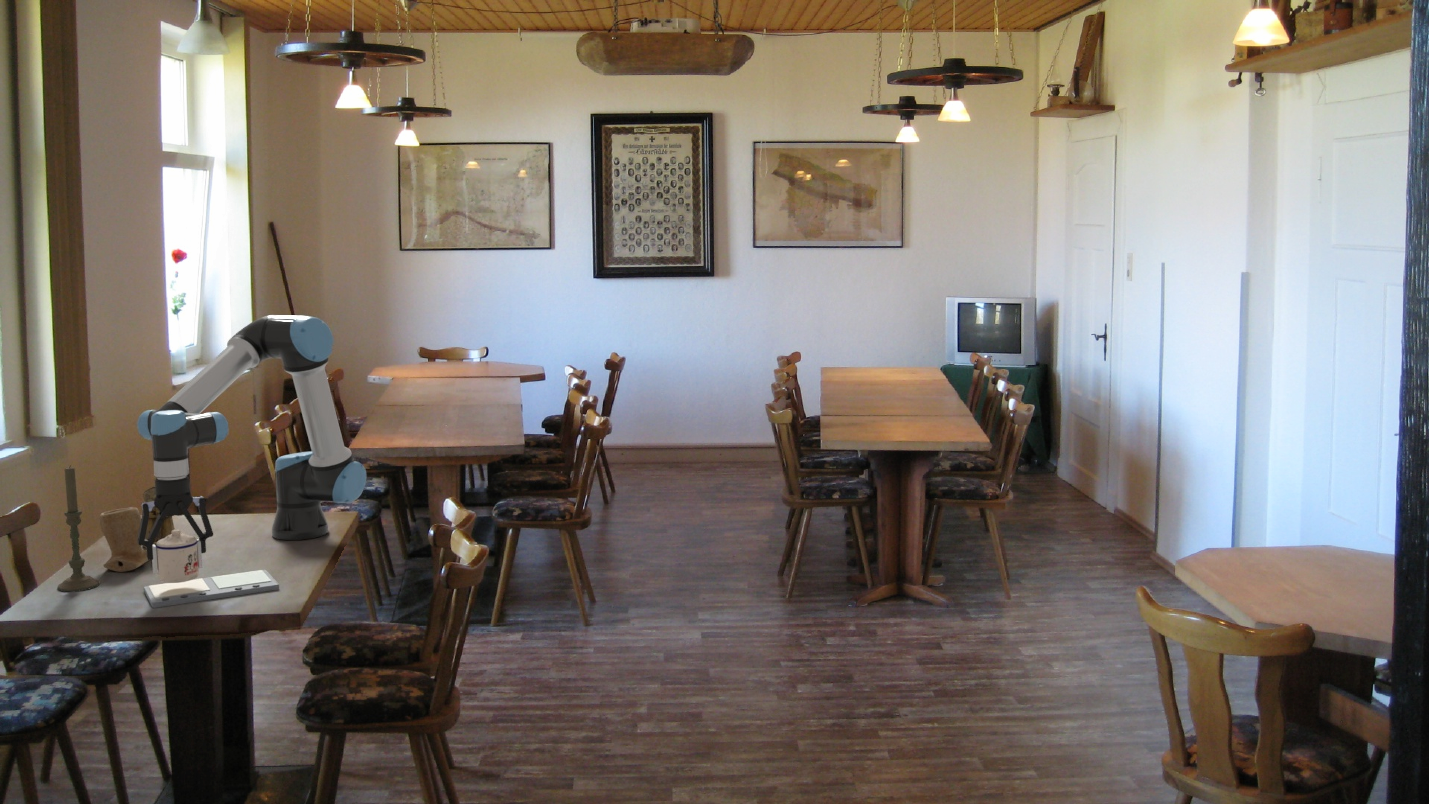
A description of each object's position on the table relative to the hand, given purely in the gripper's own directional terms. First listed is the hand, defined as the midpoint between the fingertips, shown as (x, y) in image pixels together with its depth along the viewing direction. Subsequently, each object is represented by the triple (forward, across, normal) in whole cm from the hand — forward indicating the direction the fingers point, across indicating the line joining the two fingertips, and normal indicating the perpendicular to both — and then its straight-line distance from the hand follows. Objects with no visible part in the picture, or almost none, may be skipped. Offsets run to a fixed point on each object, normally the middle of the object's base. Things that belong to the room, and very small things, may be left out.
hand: (177, 569), depth 292 cm
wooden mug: (+6, -2, -49) cm, 49 cm away
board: (+6, -7, +2) cm, 9 cm away
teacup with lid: (+2, -1, 0) cm, 2 cm away
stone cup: (+6, +8, -33) cm, 34 cm away
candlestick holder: (+6, +20, -19) cm, 28 cm away
